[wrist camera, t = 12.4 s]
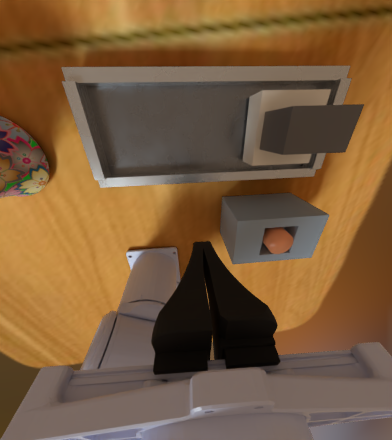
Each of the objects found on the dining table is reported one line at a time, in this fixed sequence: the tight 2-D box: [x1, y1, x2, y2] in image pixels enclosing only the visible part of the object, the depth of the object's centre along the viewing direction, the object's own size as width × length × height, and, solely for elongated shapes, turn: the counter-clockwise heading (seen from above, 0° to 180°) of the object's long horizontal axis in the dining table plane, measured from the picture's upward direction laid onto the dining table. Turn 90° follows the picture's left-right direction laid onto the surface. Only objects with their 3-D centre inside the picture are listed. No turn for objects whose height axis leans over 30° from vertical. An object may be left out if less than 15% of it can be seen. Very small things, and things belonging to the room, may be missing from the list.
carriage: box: [243, 89, 364, 166], centre depth 14 cm, size 6×6×7 cm
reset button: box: [262, 227, 293, 254], centre depth 19 cm, size 3×3×2 cm
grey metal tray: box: [61, 66, 352, 188], centre depth 17 cm, size 10×25×3 cm, turn 92°
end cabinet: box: [220, 193, 329, 264], centre depth 21 cm, size 6×10×7 cm, turn 92°
